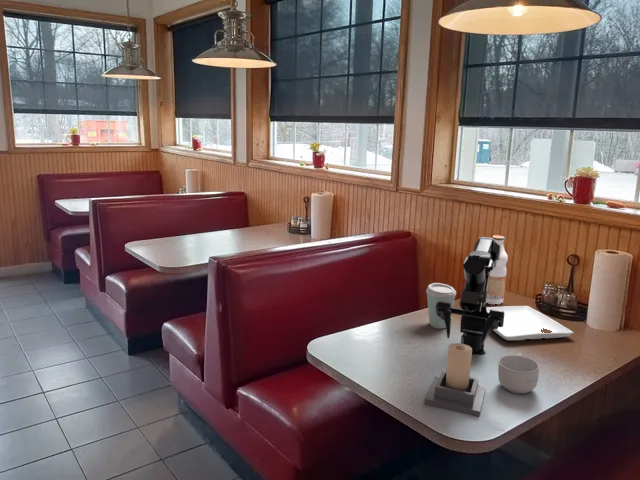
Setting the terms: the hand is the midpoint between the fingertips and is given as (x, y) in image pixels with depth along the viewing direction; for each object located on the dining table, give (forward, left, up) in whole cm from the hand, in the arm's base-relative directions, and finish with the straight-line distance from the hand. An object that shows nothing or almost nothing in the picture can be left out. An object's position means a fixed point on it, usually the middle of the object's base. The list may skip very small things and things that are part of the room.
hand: (464, 340), depth 146 cm
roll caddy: (+4, +7, -13) cm, 16 cm away
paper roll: (+4, +7, -12) cm, 14 cm away
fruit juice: (-39, -71, -14) cm, 82 cm away
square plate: (-36, -42, -14) cm, 57 cm away
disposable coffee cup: (-7, -44, -14) cm, 47 cm away
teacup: (-16, +1, -14) cm, 21 cm away
